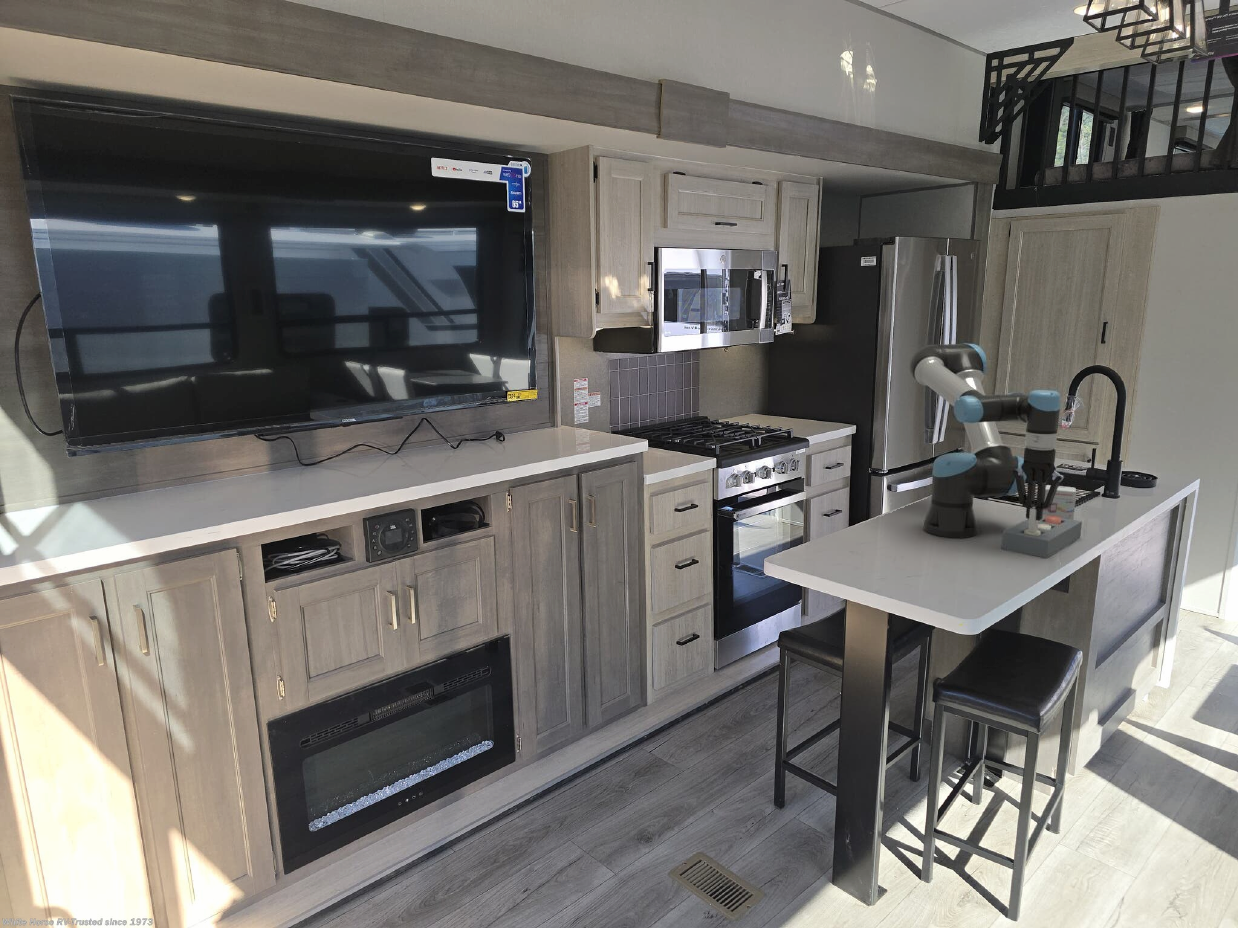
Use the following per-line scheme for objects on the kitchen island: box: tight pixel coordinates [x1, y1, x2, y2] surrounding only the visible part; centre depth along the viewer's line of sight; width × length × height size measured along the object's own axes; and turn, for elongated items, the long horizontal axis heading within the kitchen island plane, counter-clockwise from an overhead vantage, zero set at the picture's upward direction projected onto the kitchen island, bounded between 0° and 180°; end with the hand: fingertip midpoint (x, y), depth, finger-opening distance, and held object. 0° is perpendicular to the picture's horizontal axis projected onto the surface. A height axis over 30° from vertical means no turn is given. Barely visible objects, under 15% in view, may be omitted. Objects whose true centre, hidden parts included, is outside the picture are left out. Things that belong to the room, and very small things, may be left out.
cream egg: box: [1038, 524, 1051, 530], centre depth 224 cm, size 4×4×5 cm
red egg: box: [1045, 516, 1061, 524], centre depth 229 cm, size 4×4×5 cm
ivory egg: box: [1024, 529, 1041, 536], centre depth 219 cm, size 4×4×5 cm
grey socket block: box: [1001, 515, 1083, 559], centre depth 224 cm, size 25×12×5 cm, turn 132°
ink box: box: [1043, 484, 1077, 520], centre depth 240 cm, size 8×5×12 cm, turn 62°
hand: (1032, 530), depth 218 cm, fingers closed
